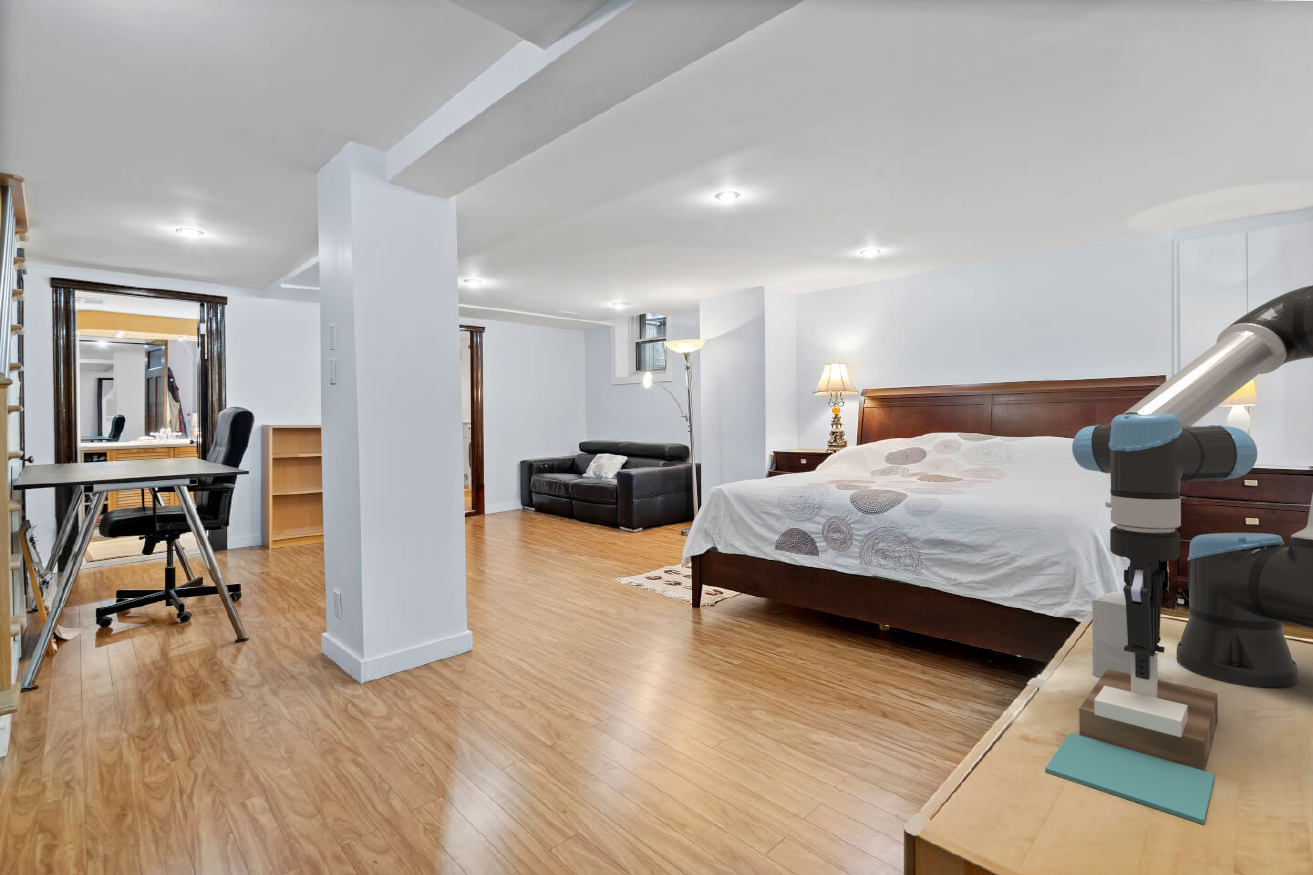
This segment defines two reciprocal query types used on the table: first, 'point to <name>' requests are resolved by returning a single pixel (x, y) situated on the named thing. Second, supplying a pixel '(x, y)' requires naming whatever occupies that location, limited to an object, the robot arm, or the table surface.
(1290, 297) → the robot arm
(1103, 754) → the teal mat
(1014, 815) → the table surface
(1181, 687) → the board
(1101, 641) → the small box
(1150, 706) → the tile
